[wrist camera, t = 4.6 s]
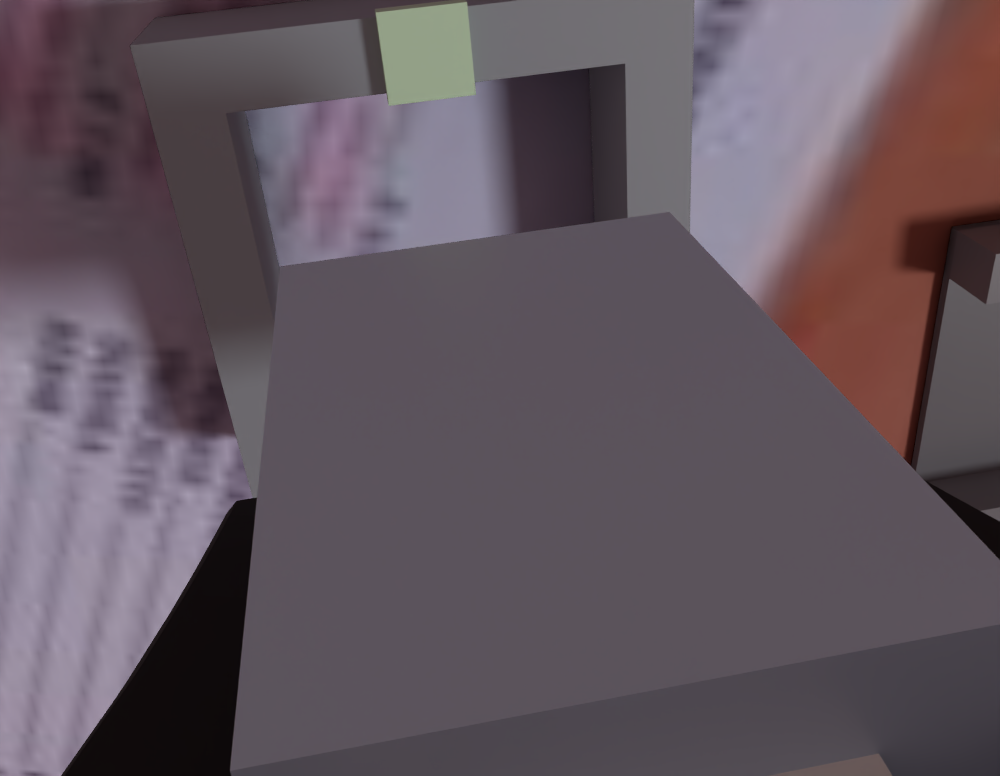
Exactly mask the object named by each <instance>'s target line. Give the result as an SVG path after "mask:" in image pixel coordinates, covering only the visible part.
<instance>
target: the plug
mask: <svg viewBox="0 0 1000 776" xmlns="http://www.w3.org/2000/svg"><path fill="white" fill-rule="evenodd" d="M230 773H231V776H1000V560H999V559H998V558H997V557H996V556H995V555H994V553H993V552H992V551H991V550H990V549H989V548H988V547H987V546H986V545H985V544H984V543H983V542H982V541H981V540H980V539H979V538H978V537H977V536H976V534H975V533H974V532H973V531H972V530H971V529H970V528H969V527H968V526H967V525H966V524H965V523H964V522H963V521H962V520H961V519H960V518H959V517H958V515H957V514H956V513H955V512H954V511H953V510H952V509H951V508H950V507H949V506H948V505H947V504H946V503H945V502H944V501H943V500H942V499H941V498H940V497H939V495H938V494H937V493H936V492H935V491H934V490H933V489H932V488H931V487H930V486H929V485H928V484H927V483H926V482H925V481H924V480H923V479H922V478H921V476H920V475H919V474H918V473H917V472H916V471H915V470H914V469H913V468H912V467H911V466H910V465H909V464H908V463H907V462H906V461H905V460H904V459H903V458H902V456H901V455H900V454H899V453H898V452H897V451H896V450H895V449H894V448H893V447H892V446H891V445H890V444H889V443H888V442H887V441H886V440H885V439H884V437H883V436H882V435H881V434H880V433H879V432H878V431H877V430H876V429H875V428H874V427H873V426H872V425H871V424H870V423H869V422H868V421H867V420H866V418H865V417H864V416H863V415H862V414H861V413H860V412H859V411H858V410H857V409H856V408H855V407H854V406H853V405H852V404H851V403H850V402H849V401H848V400H847V398H846V397H845V396H844V395H843V394H842V393H841V392H840V391H839V390H838V389H837V388H836V387H835V386H834V385H833V384H832V383H831V382H830V381H829V379H828V378H827V377H826V376H825V375H824V374H823V373H822V372H821V371H820V370H819V369H818V368H817V367H816V366H815V365H814V364H813V363H812V362H811V361H810V359H809V358H808V357H807V356H806V355H805V354H804V353H803V352H802V351H801V350H800V349H799V348H798V347H797V346H796V345H795V344H794V343H793V342H792V340H791V339H790V338H789V337H788V336H787V335H786V334H785V333H784V332H783V331H782V330H781V329H780V328H779V327H778V326H777V325H776V324H775V323H774V322H773V320H772V319H771V318H770V317H769V316H768V315H767V314H766V313H765V312H764V311H763V310H762V309H761V308H760V307H759V306H758V305H757V304H756V303H755V301H754V300H753V299H752V298H751V297H750V296H749V295H748V294H747V293H746V292H745V291H744V290H743V289H742V288H741V287H740V286H739V285H738V284H737V282H736V281H735V280H734V279H733V278H732V277H731V276H730V275H729V274H728V273H727V272H726V271H725V270H724V269H723V268H722V267H721V266H720V265H719V264H718V262H717V261H716V260H715V259H714V258H713V257H712V256H711V255H710V254H709V253H708V252H707V251H706V250H705V249H704V248H703V247H702V246H701V245H700V243H699V242H698V241H697V240H696V239H695V238H694V237H693V236H692V235H691V234H690V233H689V232H688V231H687V230H686V229H685V228H684V227H683V226H682V225H681V223H680V222H679V221H678V220H677V219H676V218H675V217H674V216H673V215H672V214H671V213H670V212H665V213H658V214H651V215H644V216H637V217H630V218H622V219H615V220H608V221H601V222H594V223H587V224H580V225H573V226H566V227H558V228H551V229H544V230H537V231H530V232H523V233H516V234H509V235H502V236H494V237H487V238H480V239H473V240H466V241H459V242H452V243H445V244H438V245H430V246H423V247H416V248H409V249H402V250H395V251H388V252H381V253H374V254H366V255H359V256H352V257H345V258H338V259H331V260H324V261H317V262H310V263H302V264H295V265H288V266H281V267H280V272H279V282H278V292H277V302H276V312H275V322H274V332H273V342H272V352H271V362H270V372H269V382H268V392H267V402H266V412H265V422H264V433H263V443H262V453H261V463H260V473H259V483H258V493H257V503H256V513H255V523H254V533H253V543H252V553H251V563H250V573H249V583H248V593H247V604H246V614H245V624H244V634H243V644H242V654H241V664H240V674H239V684H238V694H237V704H236V714H235V724H234V734H233V744H232V754H231V764H230Z"/></svg>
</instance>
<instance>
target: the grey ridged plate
mask: <svg viewBox="0 0 1000 776" xmlns="http://www.w3.org/2000/svg"><path fill="white" fill-rule="evenodd" d="M911 467H912V468H913V469H914V470H915V471H916V472H917V473H918V474H919V475H920V476H921V478H922V479H924V480H925V481H927V482H929V483H931V484H932V485H934V486H936V487H938V488H940V489H941V490H943V491H945V492H947V493H949V494H950V495H952V496H954V497H956V498H958V499H959V500H961V501H963V502H965V503H967V504H969V505H970V506H972V507H974V508H976V509H978V510H980V511H981V512H983V513H985V514H987V515H989V516H991V517H993V518H994V519H996V520H998V521H1000V220H995V221H988V222H982V223H975V224H968V225H961V226H954V227H952V229H951V235H950V240H949V246H948V252H947V258H946V264H945V270H944V276H943V282H942V288H941V293H940V299H939V305H938V311H937V317H936V323H935V329H934V335H933V341H932V347H931V352H930V358H929V364H928V370H927V376H926V382H925V388H924V394H923V400H922V405H921V411H920V417H919V423H918V429H917V435H916V441H915V447H914V453H913V459H912V464H911Z"/></svg>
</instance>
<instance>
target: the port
mask: <svg viewBox="0 0 1000 776" xmlns="http://www.w3.org/2000/svg"><path fill="white" fill-rule="evenodd" d="M693 43H694V0H307V1H298V2H290V3H281V4H272V5H263V6H254V7H246V8H237V9H228V10H219V11H211V12H202V13H193V14H184V15H176V16H167V17H158V18H154V19H153V21H152V22H151V23H150V24H149V25H148V26H147V27H146V28H145V29H144V31H143V32H142V33H141V34H140V35H139V36H138V37H137V38H136V39H135V40H134V42H133V43H132V44H131V45H130V48H131V51H132V55H133V59H134V63H135V66H136V70H137V74H138V77H139V81H140V85H141V88H142V92H143V96H144V99H145V103H146V107H147V110H148V114H149V118H150V121H151V125H152V129H153V132H154V136H155V140H156V143H157V147H158V151H159V155H160V158H161V162H162V166H163V169H164V173H165V177H166V180H167V184H168V188H169V191H170V195H171V199H172V202H173V206H174V210H175V213H176V217H177V221H178V224H179V228H180V232H181V235H182V239H183V243H184V247H185V250H186V254H187V258H188V261H189V265H190V269H191V272H192V276H193V280H194V283H195V287H196V291H197V294H198V298H199V302H200V305H201V309H202V313H203V316H204V320H205V324H206V327H207V331H208V335H209V339H210V342H211V346H212V350H213V353H214V357H215V361H216V364H217V368H218V372H219V375H220V379H221V383H222V386H223V390H224V394H225V397H226V401H227V405H228V408H229V412H230V416H231V419H232V423H233V427H234V431H235V434H236V438H237V442H238V445H239V449H240V453H241V456H242V460H243V464H244V467H245V471H246V475H247V478H248V482H249V486H250V489H251V493H252V497H253V498H257V493H258V483H259V473H260V463H261V453H262V443H263V433H264V422H265V412H266V402H267V392H268V382H269V372H270V362H271V352H272V342H273V332H274V322H275V312H276V302H277V292H278V282H279V272H280V269H279V264H278V260H277V255H276V250H275V246H274V241H273V237H272V232H271V228H270V223H269V219H268V214H267V209H266V205H265V200H264V196H263V191H262V187H261V182H260V178H259V173H258V168H257V164H256V159H255V155H254V150H253V146H252V141H251V137H250V132H249V128H248V123H247V118H246V114H245V111H248V110H256V109H264V108H272V107H280V106H288V105H296V104H304V103H312V102H320V101H328V100H336V99H344V98H352V97H360V96H368V95H376V94H384V93H387V99H388V104H389V106H391V105H399V104H407V103H415V102H423V101H431V100H439V99H447V98H454V97H462V96H470V95H476V91H475V82H481V81H489V80H497V79H505V78H513V77H521V76H529V75H537V74H545V73H553V72H561V71H569V70H577V69H585V68H589V81H590V110H591V139H592V168H593V197H594V222H601V221H608V220H615V219H622V218H630V217H637V216H644V215H651V214H658V213H665V212H670V213H671V214H672V215H673V216H674V217H675V218H676V219H677V220H678V221H679V222H680V223H681V225H682V226H683V227H684V228H685V229H686V230H687V231H688V232H689V233H690V193H691V143H692V93H693Z"/></svg>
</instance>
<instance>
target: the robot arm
mask: <svg viewBox="0 0 1000 776" xmlns="http://www.w3.org/2000/svg"><path fill="white" fill-rule="evenodd" d="M923 480H924V479H923ZM924 481H925V480H924ZM925 482H926V483H927V484H928V485H929V486H930V487H931V488H932V489H933V490H934V491H935V492H936V493H937V494H938V495H939V497H940V498H941V499H942V500H943V501H944V502H945V503H946V504H947V505H948V506H949V507H950V508H951V509H952V510H953V511H954V512H955V513H956V514H957V515H958V517H959V518H960V519H961V520H962V521H963V522H964V523H965V524H966V525H967V526H968V527H969V528H970V529H971V530H972V531H973V532H974V533H975V534H976V536H977V537H978V538H979V539H980V540H981V541H982V542H983V543H984V544H985V545H986V546H987V547H988V548H989V549H990V550H991V551H992V552H993V553H994V555H995V556H996V557H997V558H998V559H999V560H1000V521H998V520H996V519H994V518H993V517H991V516H989V515H987V514H985V513H983V512H981V511H980V510H978V509H976V508H974V507H972V506H970V505H969V504H967V503H965V502H963V501H961V500H959V499H958V498H956V497H954V496H952V495H950V494H949V493H947V492H945V491H943V490H941V489H940V488H938V487H936V486H934V485H932V484H931V483H929V482H927V481H925ZM256 503H257V498H251V499H245V500H239V501H236V503H235V504H234V505H233V506H232V507H231V509H230V510H229V511H228V512H227V514H226V516H225V518H224V519H223V521H222V523H221V525H220V527H219V529H218V530H217V532H216V534H215V536H214V538H213V539H212V541H211V543H210V545H209V547H208V548H207V550H206V552H205V554H204V556H203V557H202V559H201V561H200V563H199V565H198V566H197V568H196V570H195V572H194V573H193V575H192V577H191V578H190V580H189V582H188V584H187V585H186V587H185V589H184V590H183V592H182V594H181V595H180V597H179V599H178V601H177V602H176V604H175V606H174V607H173V609H172V611H171V612H170V614H169V616H168V617H167V619H166V620H165V622H164V624H163V625H162V627H161V628H160V630H159V631H158V633H157V635H156V636H155V638H154V639H153V641H152V643H151V644H150V646H149V647H148V649H147V651H146V652H145V654H144V655H143V657H142V658H141V660H140V662H139V663H138V665H137V666H136V668H135V670H134V671H133V673H132V674H131V676H130V677H129V679H128V681H127V682H126V684H125V685H124V687H123V688H122V690H121V691H120V693H119V694H118V696H117V697H116V699H115V700H114V702H113V703H112V704H111V706H110V707H109V709H108V710H107V711H106V713H105V714H104V716H103V717H102V719H101V720H100V721H99V723H98V724H97V726H96V727H95V728H94V730H93V731H92V733H91V734H90V736H89V737H88V738H87V740H86V741H85V743H84V744H83V745H82V747H81V748H80V750H79V751H78V753H77V754H76V755H75V757H74V758H73V760H72V761H71V762H70V764H69V765H68V767H67V768H66V770H65V771H64V772H63V774H62V775H61V776H231V773H230V764H231V754H232V744H233V734H234V724H235V714H236V704H237V694H238V684H239V674H240V664H241V654H242V644H243V634H244V624H245V614H246V604H247V593H248V583H249V573H250V563H251V553H252V543H253V533H254V523H255V513H256Z"/></svg>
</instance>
